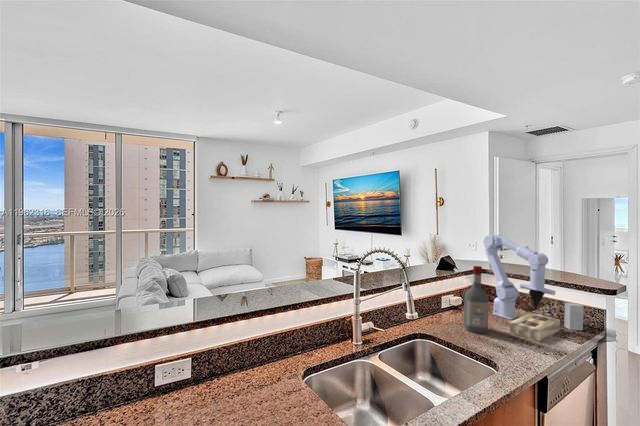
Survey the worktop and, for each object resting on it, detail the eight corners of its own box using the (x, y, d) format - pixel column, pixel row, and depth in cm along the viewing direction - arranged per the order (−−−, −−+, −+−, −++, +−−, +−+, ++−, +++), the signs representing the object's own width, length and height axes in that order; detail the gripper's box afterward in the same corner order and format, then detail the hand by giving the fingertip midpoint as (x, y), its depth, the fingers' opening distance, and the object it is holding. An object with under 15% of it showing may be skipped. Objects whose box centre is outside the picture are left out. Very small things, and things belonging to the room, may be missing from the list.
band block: (509, 332, 146) (510, 321, 146) (531, 322, 160) (531, 312, 160) (539, 342, 136) (539, 330, 136) (559, 330, 150) (560, 319, 150)
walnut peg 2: (533, 327, 152) (534, 317, 152) (537, 325, 154) (537, 315, 154) (543, 330, 149) (543, 320, 149) (546, 328, 151) (547, 318, 151)
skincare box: (576, 327, 154) (577, 303, 154) (582, 330, 150) (584, 305, 150) (563, 326, 155) (564, 302, 155) (569, 330, 151) (570, 305, 150)
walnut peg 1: (523, 333, 145) (523, 322, 145) (526, 331, 147) (527, 320, 147) (532, 336, 142) (533, 325, 142) (536, 334, 144) (536, 323, 144)
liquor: (488, 334, 144) (491, 269, 143) (467, 332, 146) (469, 267, 145) (482, 326, 153) (485, 265, 152) (462, 324, 154) (464, 264, 154)
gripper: (517, 276, 156) (516, 303, 157) (551, 282, 144) (550, 312, 145) (523, 274, 160) (522, 301, 161) (557, 280, 148) (556, 309, 149)
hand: (536, 306), depth 153 cm, fingers closed
